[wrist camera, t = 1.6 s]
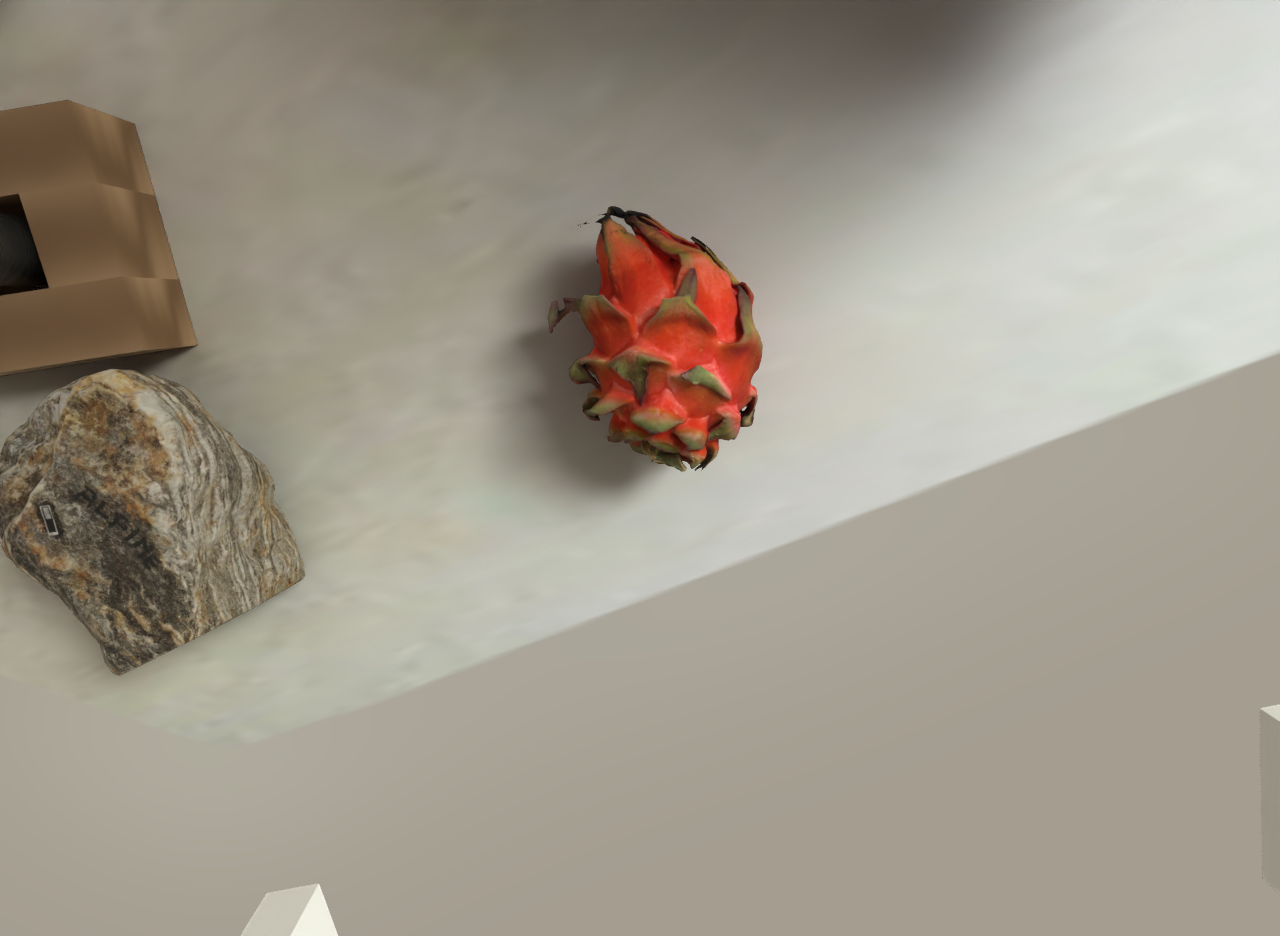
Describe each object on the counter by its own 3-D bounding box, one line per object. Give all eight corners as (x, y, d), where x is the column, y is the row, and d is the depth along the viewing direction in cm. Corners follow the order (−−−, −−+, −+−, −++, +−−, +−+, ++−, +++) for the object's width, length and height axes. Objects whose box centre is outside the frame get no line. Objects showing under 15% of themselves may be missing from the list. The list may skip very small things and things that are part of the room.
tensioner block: (-79, 159, 33) (-174, 139, 29) (134, 123, 33) (67, 100, 29) (-3, 376, 35) (-82, 385, 31) (197, 345, 35) (143, 350, 31)
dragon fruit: (682, 466, 38) (613, 244, 37) (829, 430, 33) (754, 171, 32) (575, 512, 32) (490, 245, 31) (738, 477, 26) (640, 153, 26)
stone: (-72, 418, 32) (-81, 421, 25) (176, 350, 39) (226, 337, 31) (76, 668, 37) (105, 734, 29) (278, 571, 43) (343, 604, 36)
